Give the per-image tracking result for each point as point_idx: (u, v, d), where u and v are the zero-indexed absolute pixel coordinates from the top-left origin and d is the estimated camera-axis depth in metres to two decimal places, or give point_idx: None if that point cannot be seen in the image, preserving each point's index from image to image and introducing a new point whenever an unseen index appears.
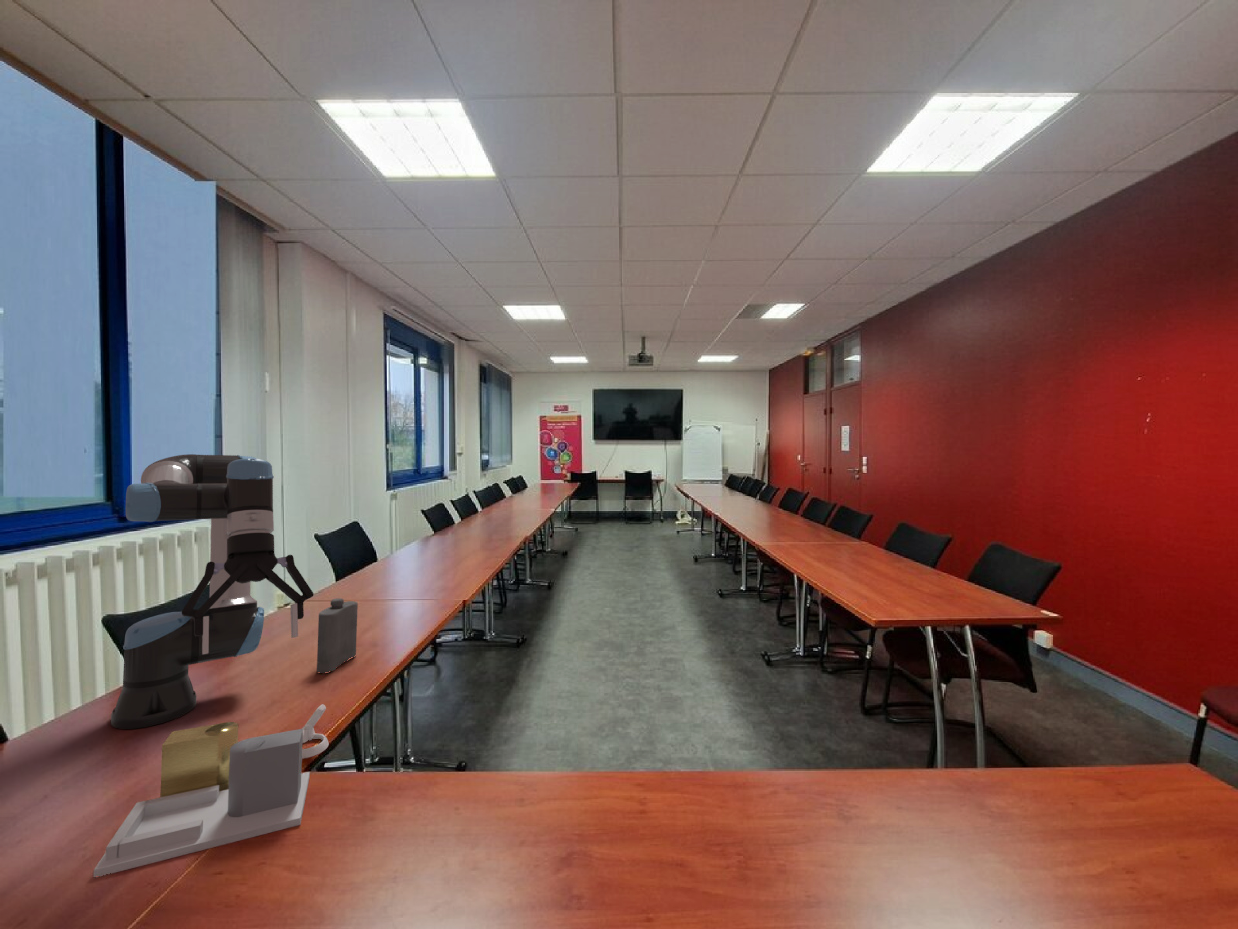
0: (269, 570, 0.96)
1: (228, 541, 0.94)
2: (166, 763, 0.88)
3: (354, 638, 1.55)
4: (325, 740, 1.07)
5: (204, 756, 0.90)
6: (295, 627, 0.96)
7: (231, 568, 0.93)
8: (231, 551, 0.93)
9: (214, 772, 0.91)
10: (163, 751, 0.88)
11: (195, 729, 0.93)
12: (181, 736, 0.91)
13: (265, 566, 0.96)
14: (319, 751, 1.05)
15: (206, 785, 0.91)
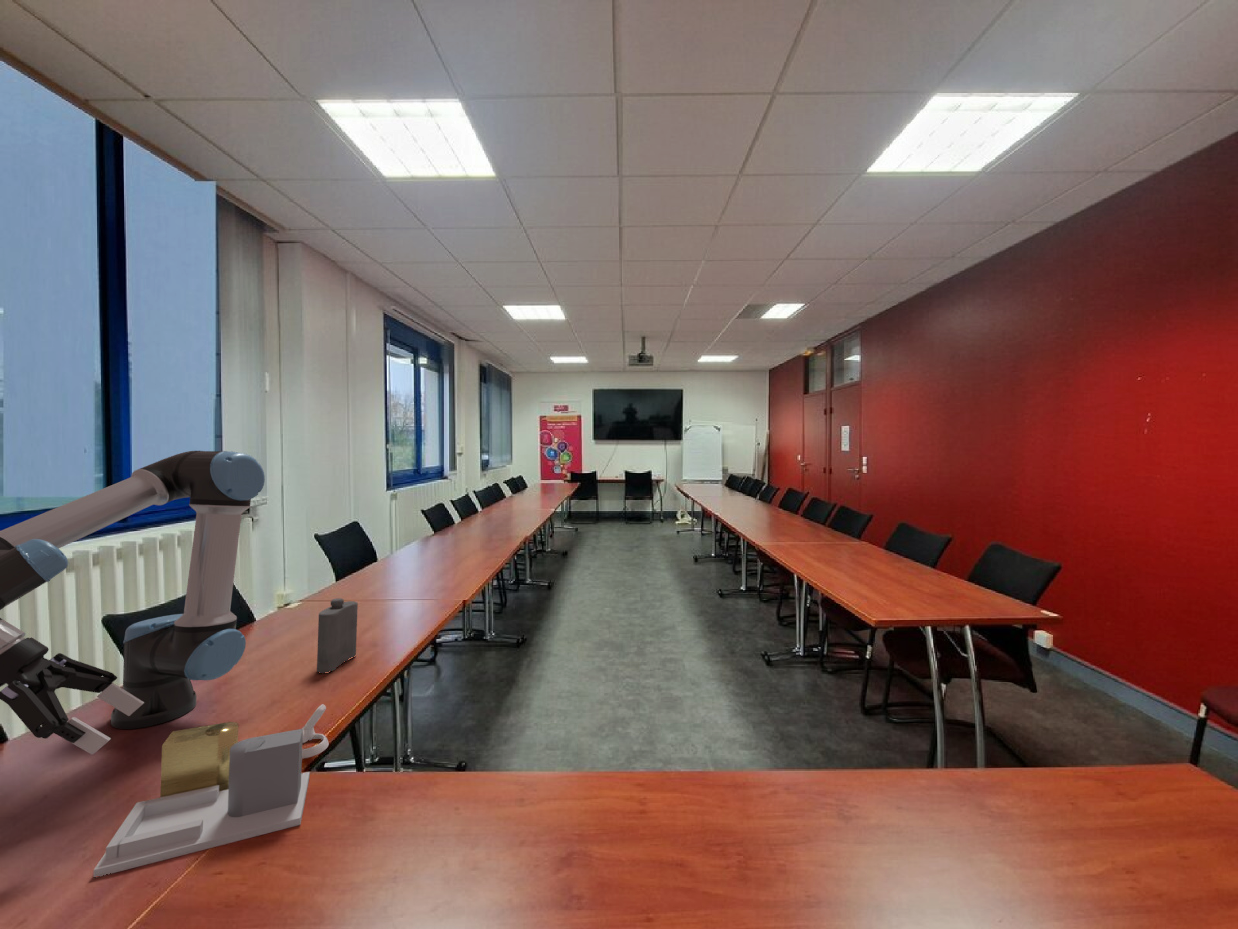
0: None
1: None
2: (166, 762, 0.88)
3: (354, 638, 1.55)
4: (325, 740, 1.07)
5: (204, 756, 0.90)
6: None
7: None
8: None
9: (214, 772, 0.91)
10: (163, 751, 0.88)
11: (195, 729, 0.93)
12: (181, 736, 0.91)
13: None
14: (319, 751, 1.05)
15: (206, 785, 0.91)
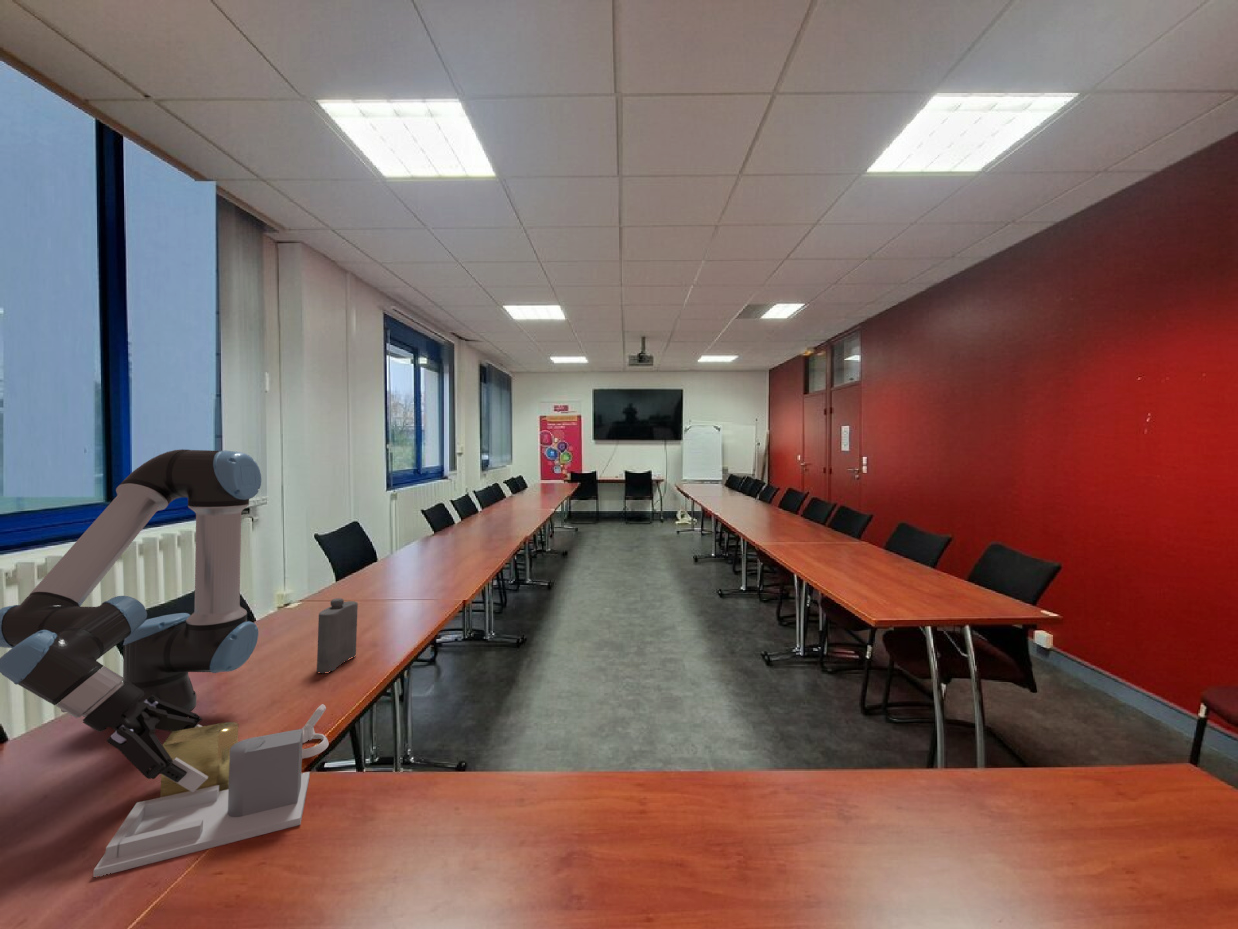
0: None
1: None
2: None
3: (354, 638, 1.55)
4: (325, 740, 1.07)
5: (204, 756, 0.90)
6: None
7: None
8: None
9: (214, 772, 0.91)
10: None
11: (195, 729, 0.93)
12: (181, 736, 0.91)
13: None
14: (319, 751, 1.05)
15: (206, 785, 0.91)
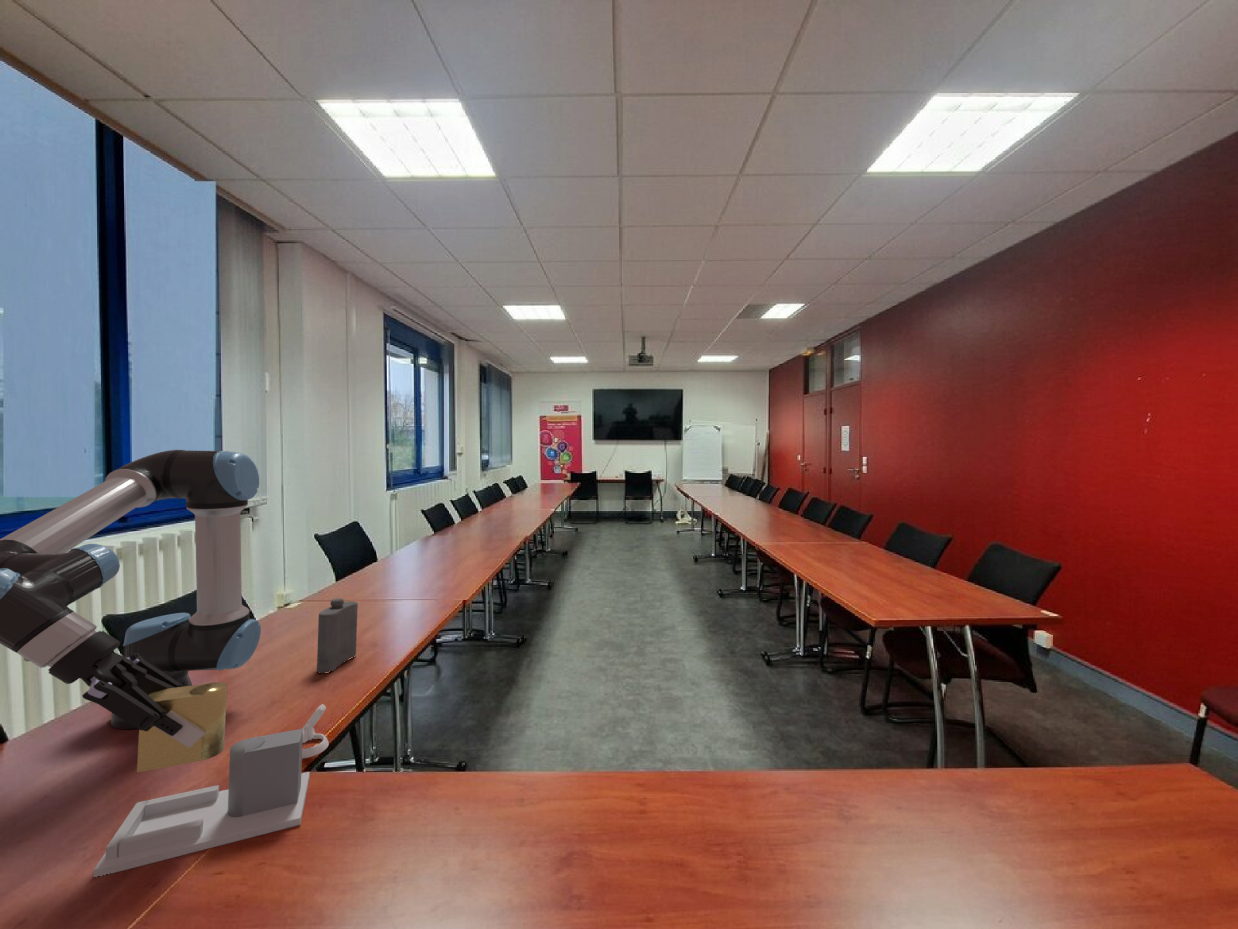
0: None
1: None
2: None
3: (354, 638, 1.55)
4: (325, 740, 1.07)
5: (188, 717, 0.81)
6: None
7: None
8: None
9: None
10: None
11: (179, 688, 0.83)
12: (162, 695, 0.81)
13: None
14: (319, 751, 1.05)
15: (190, 750, 0.81)
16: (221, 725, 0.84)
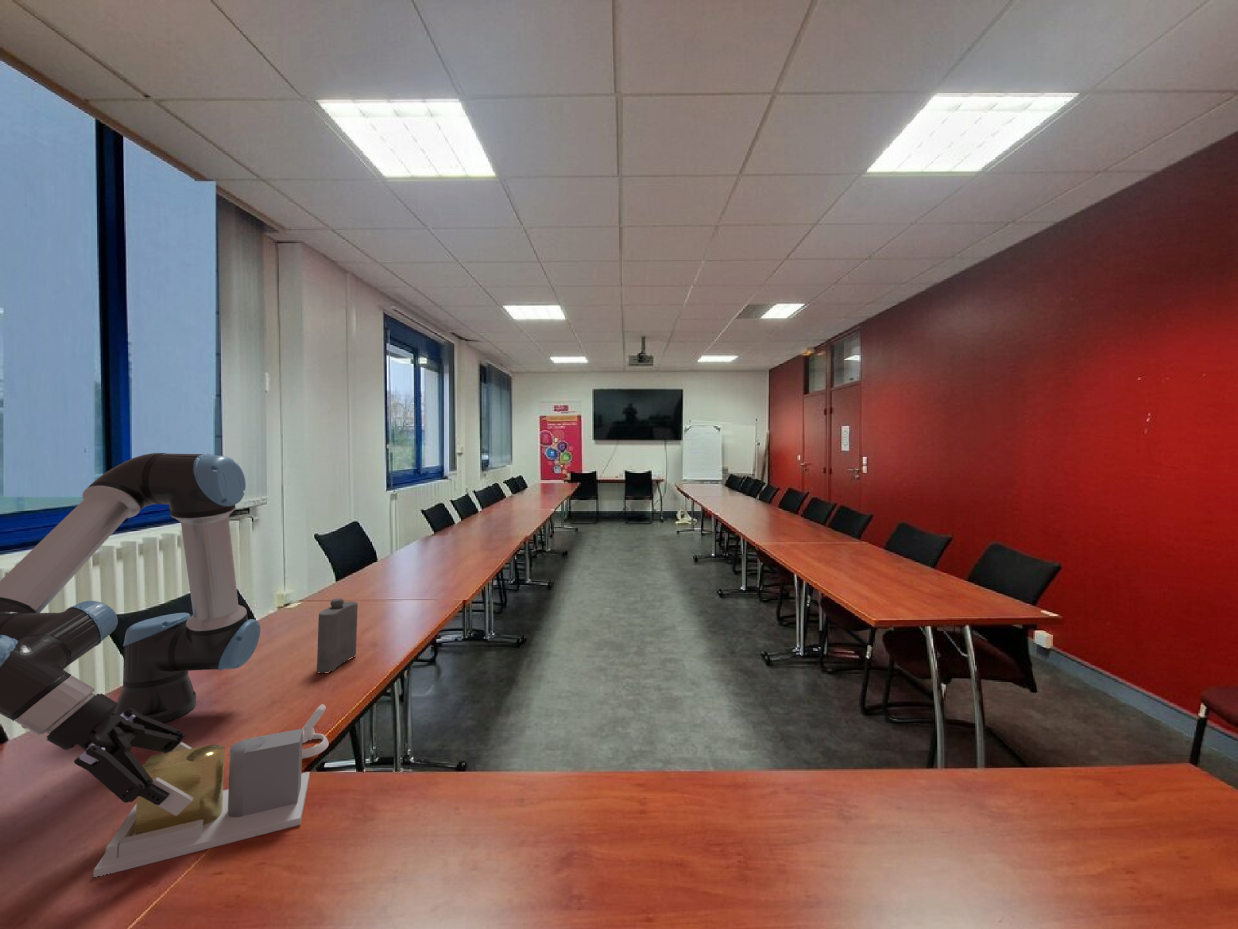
0: None
1: None
2: None
3: (354, 638, 1.55)
4: (325, 740, 1.07)
5: (185, 784, 0.81)
6: None
7: None
8: None
9: (197, 802, 0.81)
10: None
11: (176, 753, 0.83)
12: (160, 761, 0.81)
13: None
14: (319, 751, 1.05)
15: (187, 817, 0.81)
16: (218, 789, 0.84)
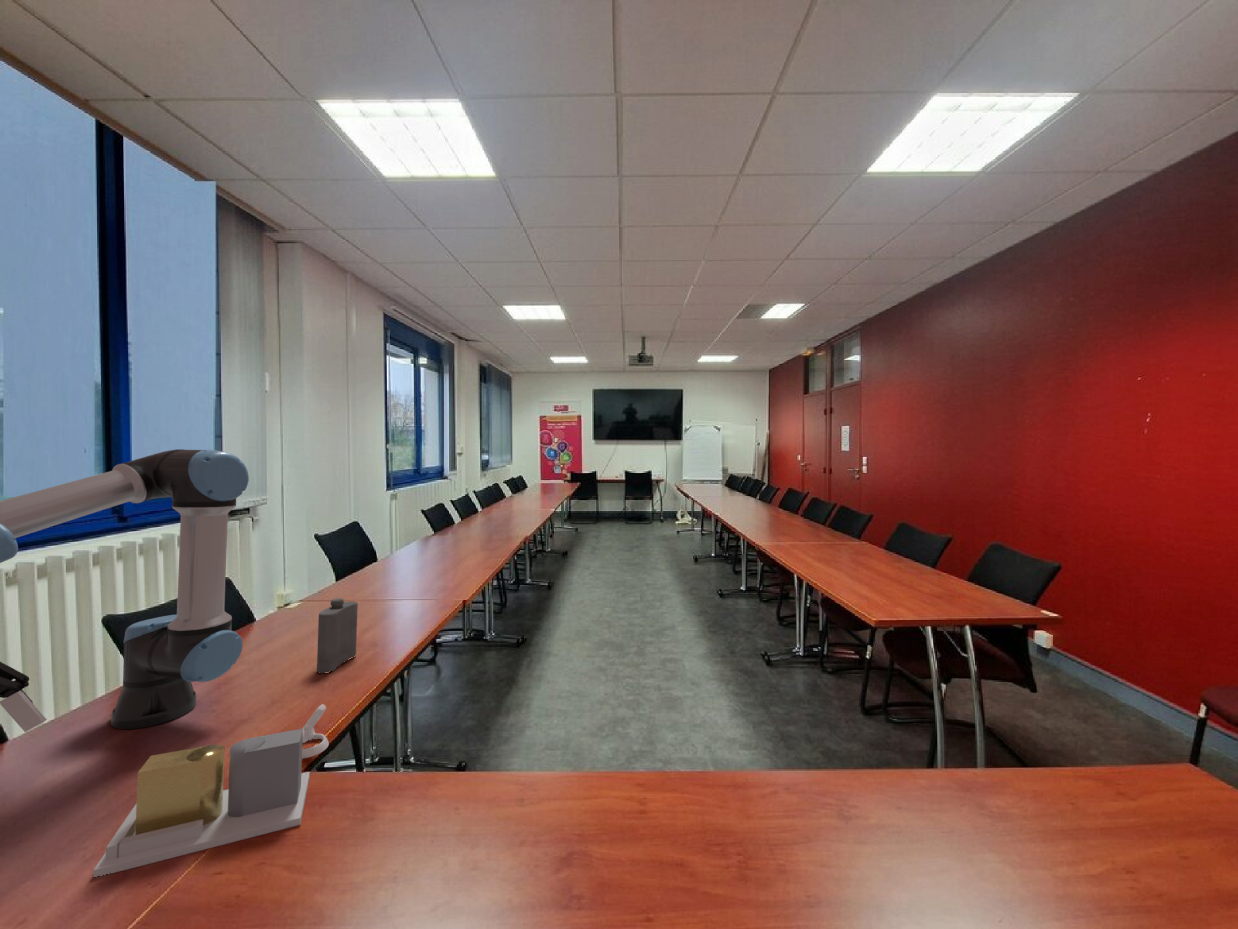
0: None
1: None
2: (142, 792, 0.78)
3: (354, 638, 1.55)
4: (325, 740, 1.07)
5: (185, 784, 0.81)
6: None
7: None
8: None
9: (197, 802, 0.81)
10: (139, 779, 0.78)
11: (176, 753, 0.83)
12: (160, 761, 0.81)
13: None
14: (319, 751, 1.05)
15: (187, 817, 0.81)
16: (218, 789, 0.84)
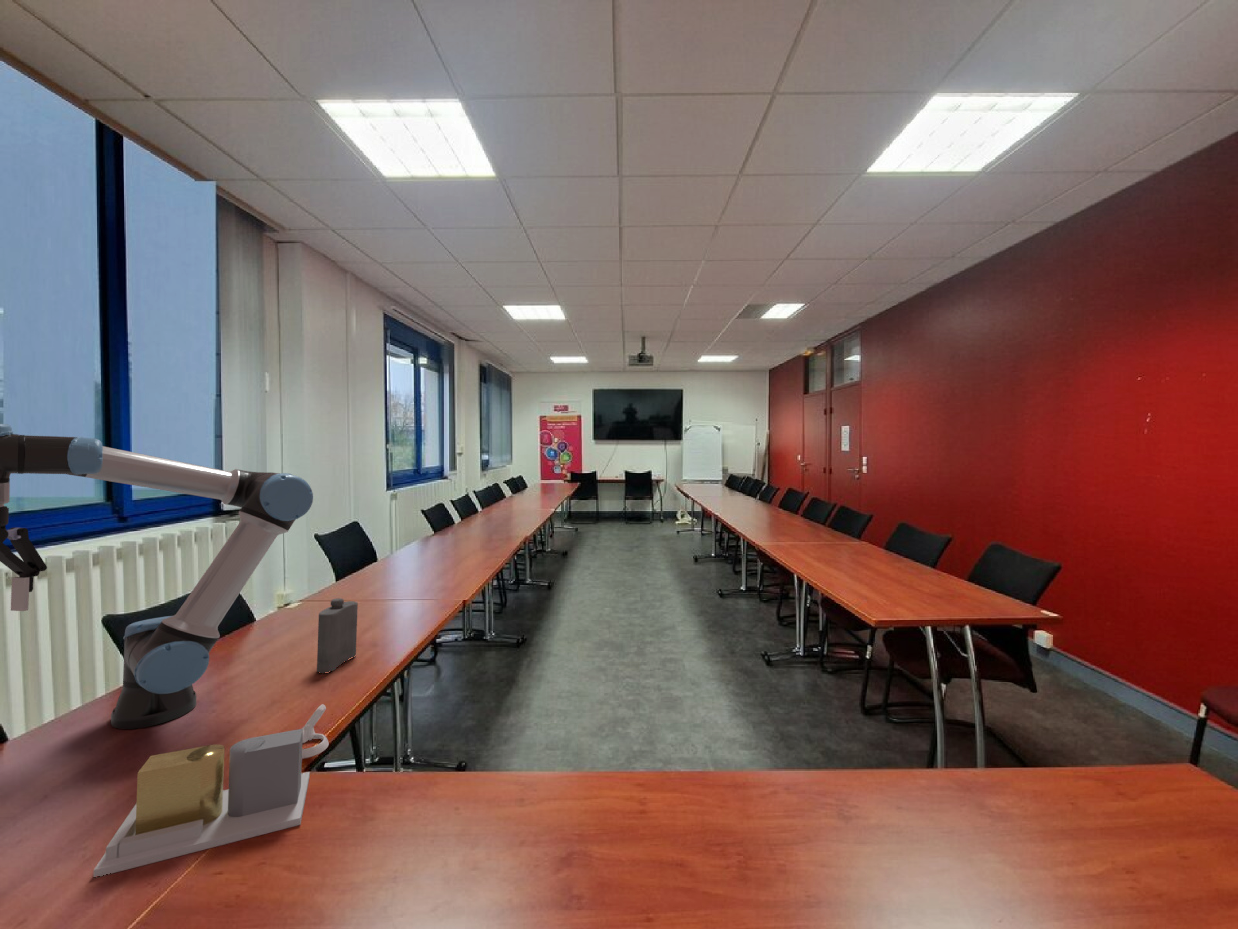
0: None
1: None
2: (142, 792, 0.78)
3: (354, 638, 1.55)
4: (325, 740, 1.07)
5: (185, 784, 0.81)
6: None
7: None
8: None
9: (197, 802, 0.81)
10: (139, 779, 0.78)
11: (176, 753, 0.83)
12: (160, 761, 0.81)
13: None
14: (319, 751, 1.05)
15: (187, 817, 0.81)
16: (218, 789, 0.84)
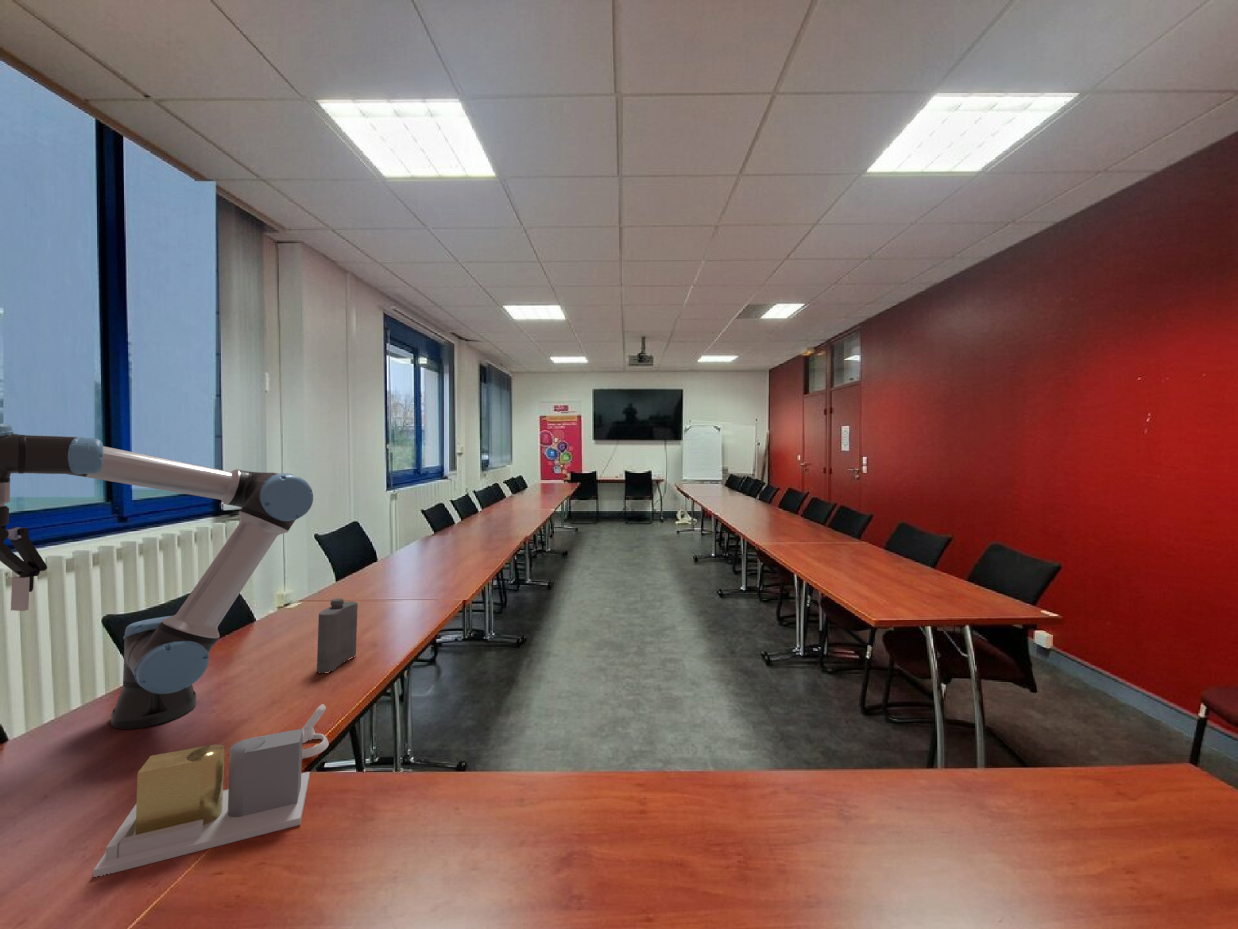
0: None
1: None
2: (142, 792, 0.78)
3: (354, 638, 1.55)
4: (325, 740, 1.07)
5: (185, 784, 0.81)
6: None
7: None
8: None
9: (197, 802, 0.81)
10: (139, 779, 0.78)
11: (176, 753, 0.83)
12: (160, 761, 0.81)
13: None
14: (319, 751, 1.05)
15: (187, 817, 0.81)
16: (218, 789, 0.84)
